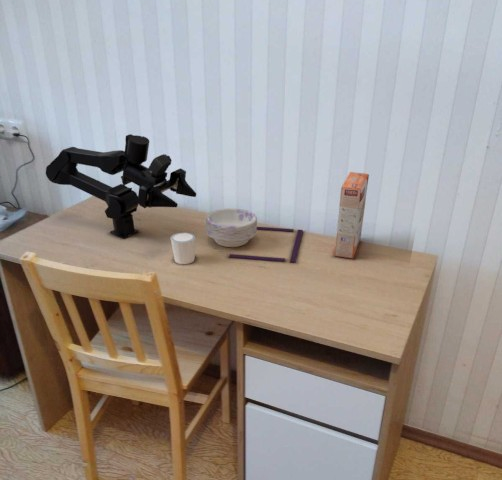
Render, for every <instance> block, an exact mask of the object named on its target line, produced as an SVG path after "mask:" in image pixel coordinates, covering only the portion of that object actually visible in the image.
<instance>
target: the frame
mask: <svg viewBox="0 0 502 480" xmlns="http://www.w3.org/2000/svg"><path fill="white" fill-rule="evenodd" d="M257 231H271V232H285V233H294V228H281V227H268V226H257ZM303 232H304V230H303V229H297V233H296V236H295V240H294V244H293V248H292V252H291V256H290V259H289V263H291V264H295V263H296V261H297V257H298V253H299V249H300V244H301V241H302V236H303ZM228 258H229V259H242V260H254V261H255V260H256V261H265V262H267V261H268V262H278V263H285V262H286V258H285V257H283V258H282V257H272V256H271V257H269V256H257V255H247V254H246V255H244V254H233V253H232V254H231V253H230V254H229V256H228Z"/></svg>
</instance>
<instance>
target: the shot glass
mask: <svg viewBox="0 0 502 480" xmlns="http://www.w3.org/2000/svg"><path fill="white" fill-rule="evenodd" d="M170 242H171V248H172V249H171V250H172V253H173V254H172V255H173V258H174V262H175V263H176V264H179V265H189V264H191V263H193V262H194V261H195V258H196V236H195V234H194V233H191V232H178V233H174V234H172V235H171V236H170Z"/></svg>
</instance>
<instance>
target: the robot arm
mask: <svg viewBox="0 0 502 480" xmlns="http://www.w3.org/2000/svg"><path fill="white" fill-rule="evenodd" d="M149 148H150V139H149V138H148V137H147V136H141V135H137V134H136V135H134V134H132V133H130V134H127V135H125V145H124V150H123V149H121V150H120V149H119V150H111V151H104V152H103V151H96V150H92V149H91V150H90V149H84V148H78V147H75V146H70V147H66V148H64V149H62V150H61V151H60V152H59V154H58V155H57V156H56V157H55V158H53V160H52V161H51V162H50V163H49V164H48V165H47V166H46V168H45V177H46V178H47V179H48V181H49V182H51V183H53V184H56V185H60V186H61V185H62V186H72V187H74V188H76V189H78V190H80V191H81V192H82V191H83V192H85V193H86V194H89V195H91V196H92V197H95V198H97V199H99V200H101V201H103V202H104V203H106V205H107V208H106V209H105V210H104V213H105V217H106V218H108V219H111V220H112V226H113V229H112V230H111V231H109V233H110V234H111V235H113V236H116V237H117V238H121V239H125V238H127V237H130V236H133V235H135V234H137V233H139V232H140V231H139V230H138V229H136V228H135V221H134V217H133V213H136V212H137V211H138V206H140V207H141V208H144V209H147V208H178V205H179V204H178V203H177V201H175V200H174V199H173V198H171V197H169V196H168V195H166V194H164V192H166V191H168V190H170V191H171V192H172V193H173V192H174V193H175V194H176V195H182V196H186V197H191V198H196V197H197V193H196V191H195V190H194V189H193V188H192V186H190V185H189V183H188V182H187V180H186V175H187V171H186V170H185V169H182V168H178V169H175V170H174V171H171V172H170V174H169V179H168V180H167V177H168V172H166V171H167V170H168V168H169V167H170V166H171V164H172V161H173V160H172V158H171V157H170V155H167V154H165V153H163V154H161V155H158V156H156V157H154V158H153V159H152V161H151V162H150V164H149V166H148V167H147V166H145V165H143V163H145V162H147V160H148V156H149V155H148V154H149ZM78 165H84V166H88V167H94V168H97V169H100V171H101V172H103V173H106V174H108V175H110V176H114V175H116V174H120V173H122V175H121V176H120V179H121V182H122V183H120V184H118V185H115V186H111V185H109V184H106V183H104V182H102V181H100V180H98V179H95V178H93V177H91V176H89V175H88V174H85V173H83V172H80V171H79V169H78V168H77V166H78ZM131 183H133V184H134V185H136V186H138V194H137V192H136V191H134V190H133V188H132V187H129V186H126V185H128V184H131Z"/></svg>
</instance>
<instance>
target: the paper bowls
mask: <svg viewBox="0 0 502 480" xmlns="http://www.w3.org/2000/svg"><path fill="white" fill-rule="evenodd" d="M257 227H258V217H257V215H256V214H255V213H254V212H252V211H249V210H247V209H241V208H234V207H233V208H220V209H215V210H213V211H211V212H209V213H208V214H206V217H205V228H206V229H205V231H206V234H207V236H208V237H210V238H211V239H213V240H214V242H215V243H216V244H217V245H219V246H222V247H225V248H226V247H227V248H238V247H241V246H244V245H246V244H247V243H249V241H250V240H251V239H253V238H254V237H255V236H256V235H257V234H258V233H257V231H258V230H257Z"/></svg>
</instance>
